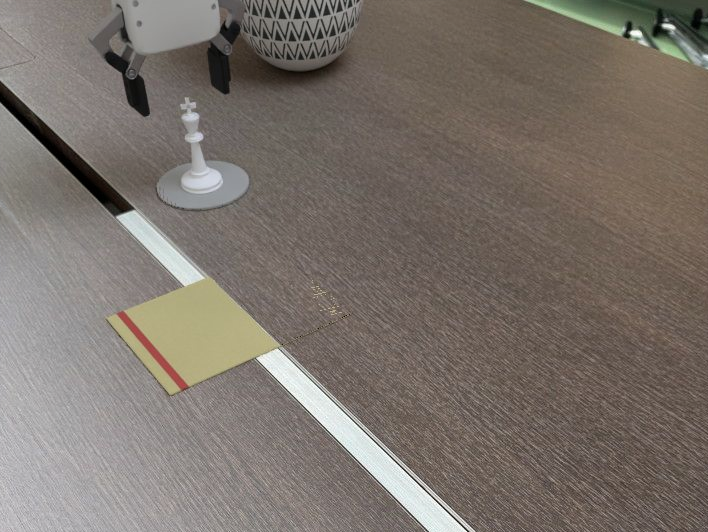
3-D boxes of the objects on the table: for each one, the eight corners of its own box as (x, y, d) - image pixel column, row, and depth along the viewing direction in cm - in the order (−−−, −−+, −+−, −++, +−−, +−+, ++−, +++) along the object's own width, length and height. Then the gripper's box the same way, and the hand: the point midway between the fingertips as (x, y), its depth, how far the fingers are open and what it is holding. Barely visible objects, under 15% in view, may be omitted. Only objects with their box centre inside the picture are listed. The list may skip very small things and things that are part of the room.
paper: (170, 396, 76) (170, 394, 76) (106, 319, 84) (105, 317, 83) (351, 314, 84) (351, 313, 83) (277, 250, 91) (277, 249, 91)
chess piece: (224, 191, 99) (211, 105, 91) (182, 196, 98) (165, 110, 90) (221, 170, 102) (207, 86, 94) (180, 175, 101) (163, 90, 93)
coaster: (183, 221, 95) (182, 218, 95) (140, 181, 101) (140, 178, 101) (266, 190, 99) (266, 188, 99) (221, 153, 105) (220, 151, 105)
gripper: (215, -107, 85) (233, 70, 98) (49, -79, 78) (93, 107, 91) (252, -88, 81) (267, 94, 94) (82, -57, 74) (123, 134, 87)
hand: (181, 100), depth 92 cm, fingers open, 9 cm apart
